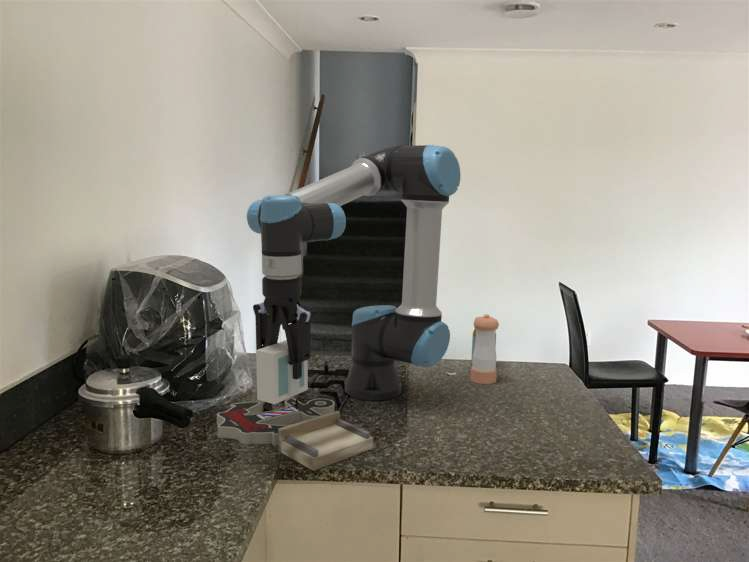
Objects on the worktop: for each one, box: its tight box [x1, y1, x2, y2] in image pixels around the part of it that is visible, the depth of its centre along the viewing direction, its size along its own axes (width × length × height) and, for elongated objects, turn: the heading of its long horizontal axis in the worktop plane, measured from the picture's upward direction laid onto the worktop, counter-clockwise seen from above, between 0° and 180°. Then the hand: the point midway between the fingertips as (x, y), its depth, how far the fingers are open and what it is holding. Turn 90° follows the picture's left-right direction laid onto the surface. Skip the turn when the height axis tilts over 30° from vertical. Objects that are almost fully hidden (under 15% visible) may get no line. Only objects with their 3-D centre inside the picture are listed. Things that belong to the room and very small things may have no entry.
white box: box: [255, 339, 309, 405], centre depth 132 cm, size 5×10×10 cm, turn 146°
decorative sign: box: [216, 397, 336, 446], centre depth 155 cm, size 22×3×30 cm
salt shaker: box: [470, 314, 500, 385], centre depth 188 cm, size 7×7×19 cm
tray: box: [277, 410, 374, 472], centre depth 140 cm, size 12×16×5 cm
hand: (283, 390), depth 133 cm, fingers closed on white box, 5 cm apart
